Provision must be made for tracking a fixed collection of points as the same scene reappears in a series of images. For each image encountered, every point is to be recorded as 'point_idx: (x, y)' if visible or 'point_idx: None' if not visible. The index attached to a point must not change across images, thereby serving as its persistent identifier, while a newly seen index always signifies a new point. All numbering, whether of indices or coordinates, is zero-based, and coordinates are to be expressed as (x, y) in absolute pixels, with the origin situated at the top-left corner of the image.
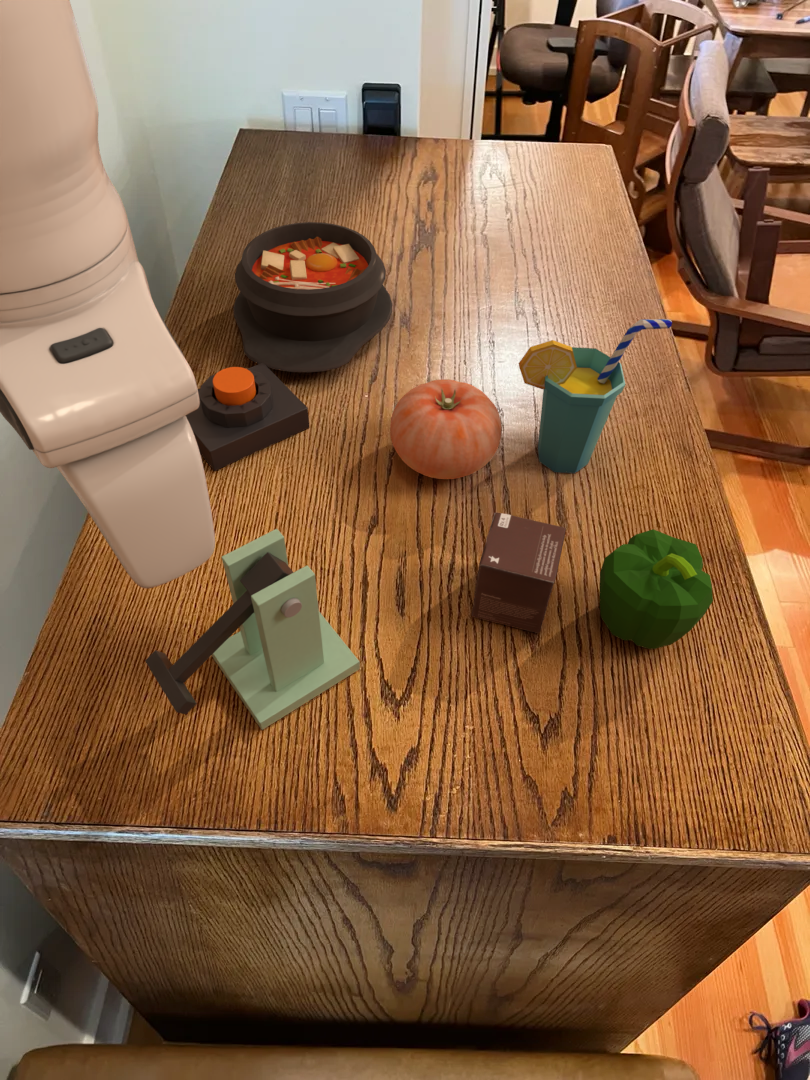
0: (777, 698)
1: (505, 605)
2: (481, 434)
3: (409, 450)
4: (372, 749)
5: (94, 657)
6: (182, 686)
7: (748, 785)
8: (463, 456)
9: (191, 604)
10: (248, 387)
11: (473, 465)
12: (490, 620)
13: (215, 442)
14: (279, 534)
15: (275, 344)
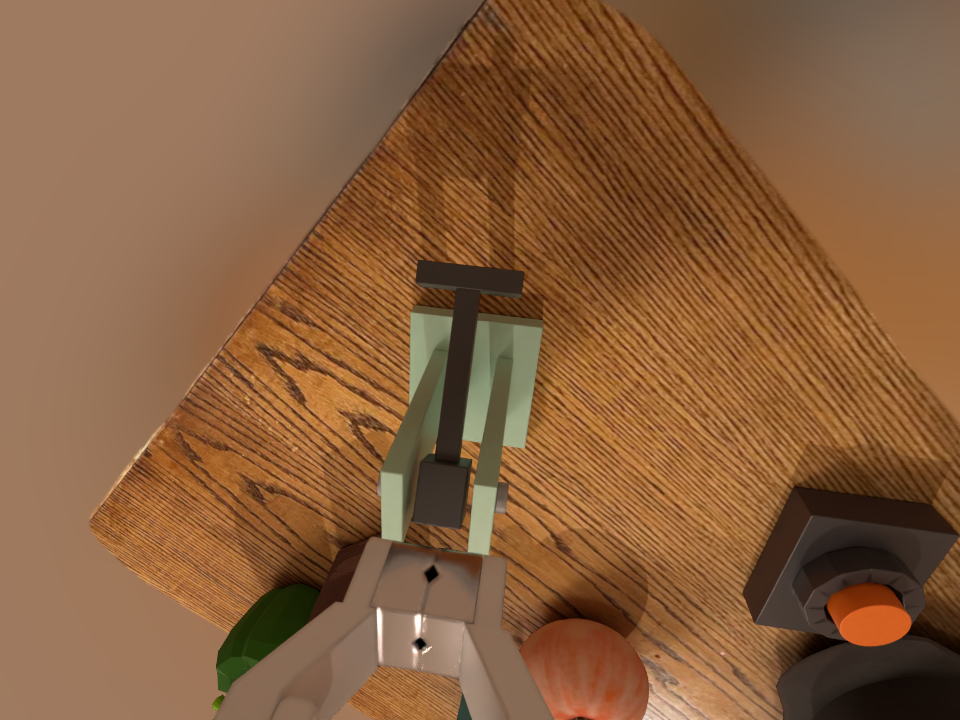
0: (190, 607)
1: (355, 566)
2: None
3: (578, 651)
4: (325, 373)
5: (663, 201)
6: (448, 288)
7: (141, 545)
8: None
9: (631, 345)
10: (840, 627)
11: None
12: (375, 536)
13: (818, 528)
14: None
15: (894, 667)
